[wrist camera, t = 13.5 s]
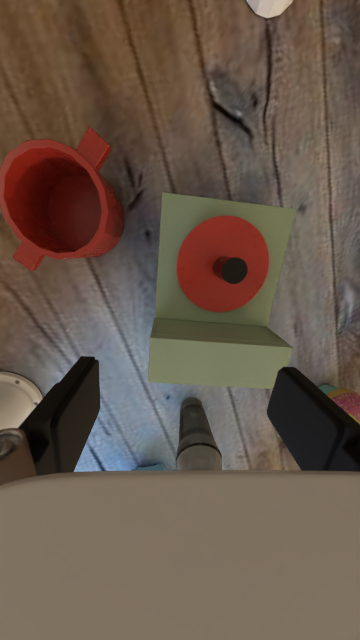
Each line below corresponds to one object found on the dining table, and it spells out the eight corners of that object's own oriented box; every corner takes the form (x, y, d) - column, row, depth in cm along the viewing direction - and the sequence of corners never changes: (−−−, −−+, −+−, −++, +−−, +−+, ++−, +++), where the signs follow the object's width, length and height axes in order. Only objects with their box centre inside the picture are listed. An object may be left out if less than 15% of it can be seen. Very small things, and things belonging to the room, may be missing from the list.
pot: (21, 235, 30) (-32, 230, 22) (82, 132, 27) (44, 80, 19) (87, 284, 33) (61, 295, 25) (150, 197, 29) (142, 176, 21)
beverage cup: (190, 385, 40) (207, 503, 22) (215, 404, 42) (252, 527, 23) (167, 408, 42) (164, 536, 23) (192, 425, 44) (209, 556, 25)
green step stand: (163, 203, 30) (159, 169, 17) (273, 216, 31) (341, 194, 19) (155, 338, 37) (147, 382, 24) (244, 344, 38) (280, 389, 26)
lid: (157, 272, 27) (154, 277, 21) (220, 194, 24) (236, 176, 19) (221, 325, 30) (233, 343, 24) (283, 261, 27) (314, 264, 22)
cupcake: (296, 392, 42) (343, 444, 31) (332, 368, 41) (395, 414, 29) (315, 415, 45) (365, 471, 33) (350, 394, 43) (414, 445, 32)
